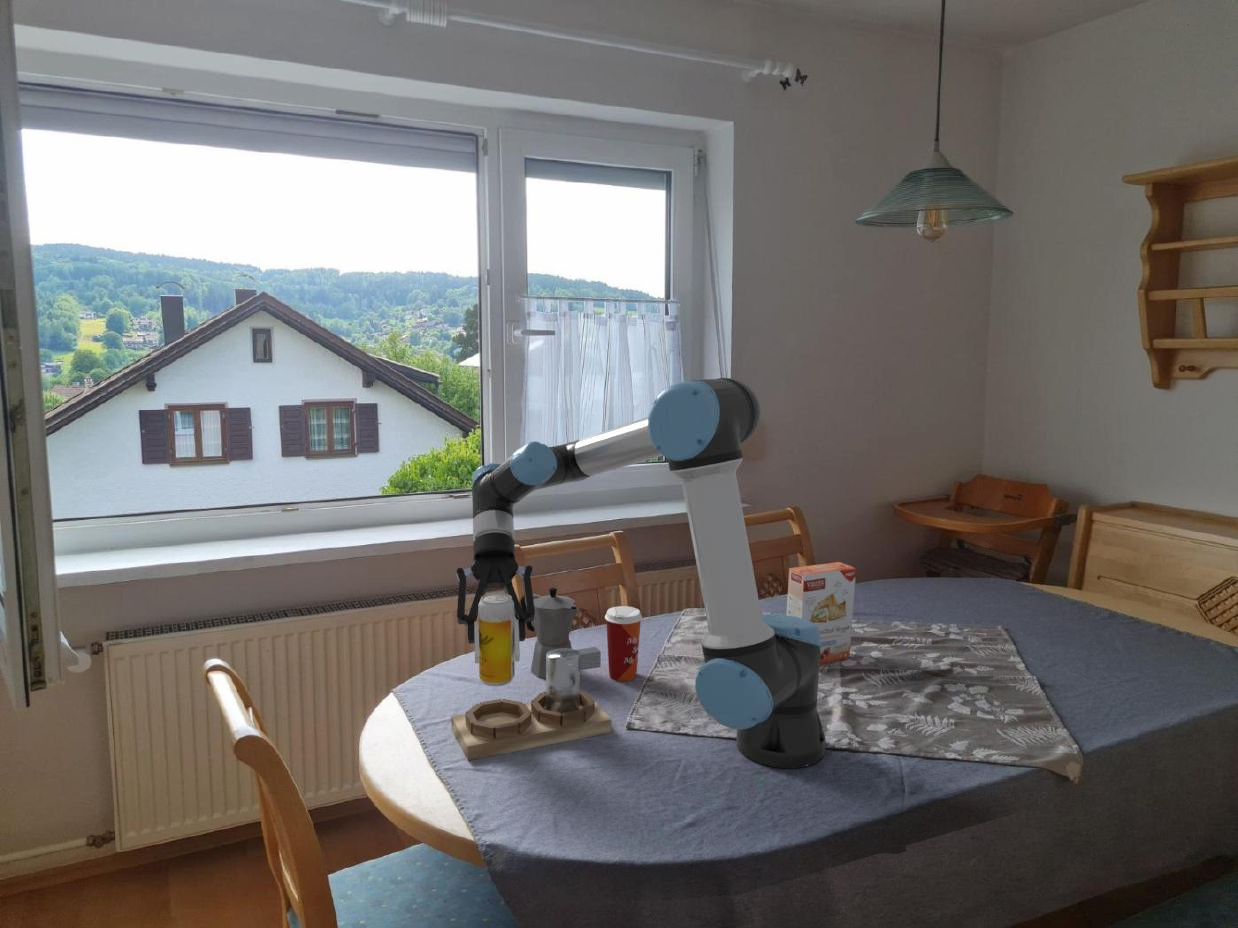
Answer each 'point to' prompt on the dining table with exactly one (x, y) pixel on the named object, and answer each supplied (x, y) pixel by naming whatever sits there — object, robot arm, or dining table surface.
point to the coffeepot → (550, 626)
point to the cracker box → (825, 604)
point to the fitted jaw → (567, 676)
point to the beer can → (496, 639)
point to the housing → (524, 725)
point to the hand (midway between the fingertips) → (497, 658)
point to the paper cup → (623, 642)
